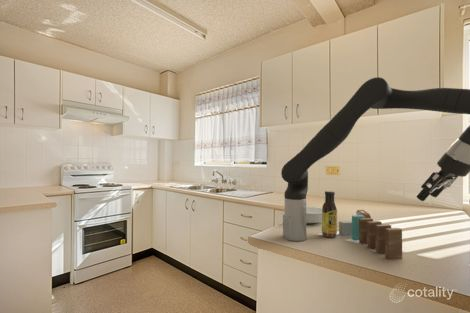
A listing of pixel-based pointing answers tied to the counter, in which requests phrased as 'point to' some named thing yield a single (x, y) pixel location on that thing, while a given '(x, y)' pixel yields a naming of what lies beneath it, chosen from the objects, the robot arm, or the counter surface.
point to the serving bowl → (313, 214)
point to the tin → (363, 213)
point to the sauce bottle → (329, 215)
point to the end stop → (345, 228)
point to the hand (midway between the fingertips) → (426, 197)
